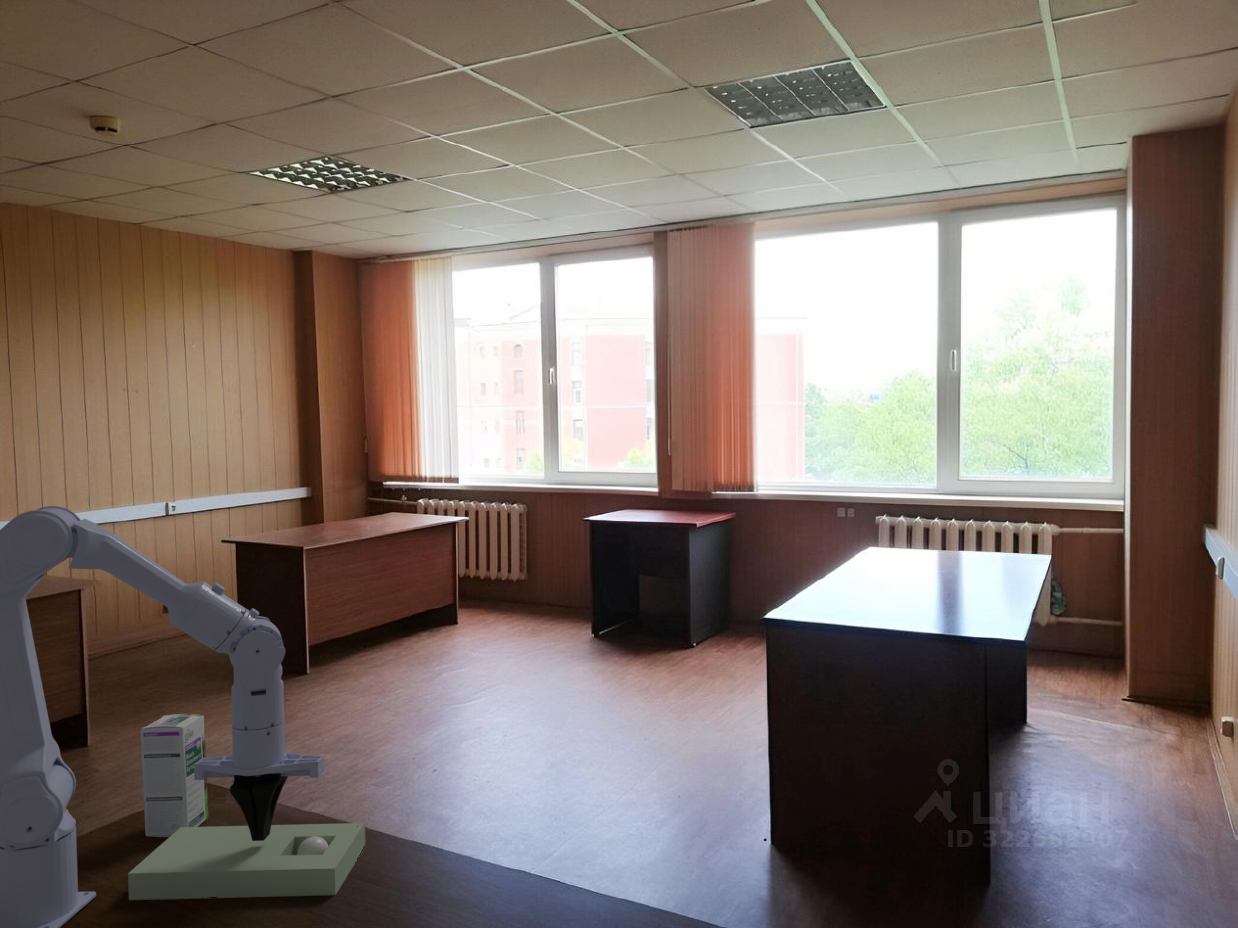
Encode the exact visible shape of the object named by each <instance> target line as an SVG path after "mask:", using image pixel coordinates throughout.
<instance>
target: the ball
mask: <svg viewBox="0 0 1238 928" xmlns="http://www.w3.org/2000/svg"><path fill="white" fill-rule="evenodd" d="M327 848H328V844H327V842H326V841H325V840H324V839H323V838H321V837H317V836H313V837H309V838H307V839H306V840H304V841H303V842H302V843H301V845H300V846H299V848H298V851H297V855H323V853H324V852H325V851H326V849H327Z"/></svg>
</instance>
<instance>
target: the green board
mask: <svg viewBox="0 0 1238 928" xmlns="http://www.w3.org/2000/svg"><path fill="white" fill-rule="evenodd" d="M357 826H358V827H357ZM313 836H317V837H321V838H323V839H324V840H325V841H326V842H327V844H328V848H327V849H326V851H325V852H324V853H323V855H297V851H298V848H299V846H300V845H301V843H302V842H303V841H304V840H306V839H307V838H309V837H313ZM364 845H365V846H366V823H365V822H351V823H349V822H348V823H347V822H346V823H345V822H344V823H308V824H307V823H306V824H271V830H270V834H269V835H268V837H267V838H266V839H265V840H263V841H252V838H251V834H250V830H249V827H248V825H230V826H229V825H222V826H198V827H180V828H179V829H178V830H177V831H176V832H175V833H174V834H173V835H171V836H170V837H167V839H165V841H164V842H162V843H161V844H160V845H159V846H157V848H155V849H154V850H153V851H152V852H151V853H149V854H148V855H147V856H146V857H145V858H143V860H142V861H140V863H138V864H137V865H136V866H135V867H134V868H132V870H130V871H129V872H128V874H127V878H128V879H127V881H128V882H127V884H128V900H129V901H143V900H144V901H145V900H146V901H147V900H148V901H149V900H153V901H154V900H181V899H182V900H187V899H212V898H211V897H217V898H216V899H227V898H228V899H230V898H234V899H235V898H268V897H269V898H270V897H275V898H276V897H305V896H307V897H308V896H309V897H310V896H314V897H315V896H336V895H337V893H338V891H339V890H340V889H341V887H342V885H343V884H344V883H345V881H346V879H347V877H348V875H350V872H351V871H352V869H353V868H354V866H355V864H356V863H357V861H358V860H357V858H358V857H359V858H360V856H361V855H360V853H361V851H362V849H363V847H364ZM362 852H363V851H362ZM361 854H362V853H361ZM359 855H360V856H359ZM359 858H358V859H359ZM355 862H356V863H355ZM202 897H203V898H202ZM209 897H210V898H209Z"/></svg>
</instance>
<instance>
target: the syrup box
mask: <svg viewBox="0 0 1238 928" xmlns="http://www.w3.org/2000/svg"><path fill="white" fill-rule="evenodd" d="M205 733H206V732H205V716H204V714H199V713H177V714H176V713H175V714H168V715H167V714H165V715H163V716H161V717H160V718H159V719H158V720H157V719H156V720H155V721H153V722H152V723H149V724H148V725H147V726H144V727H142V728H141V729H140V749H141V750H140V751H141V768H142V769H141V770H142V771H141V772H142V774H141V775H142V790H143V791H142V792H143V793H142V794H143V813H144V815H143V816H144V833H145V834H144V835H145V837H154V838H169V837H170V836H171V835H173V834H174V833H175V832H176V831H177V830H178V829H179V828H180V827H200V826H201V824H202V823H204V822H205V821H207V819H208V818H209V803H208V802H209V799H208V780H207V779H208V778H205V779H204V780H195V779H194V764H195V763H196V762H198V761H199V760H200V759H202V758H207V755H206V740H205V739H206V738H205Z"/></svg>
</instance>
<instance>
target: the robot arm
mask: <svg viewBox="0 0 1238 928" xmlns="http://www.w3.org/2000/svg"><path fill="white" fill-rule="evenodd" d="M69 558H70V559H71V561H70V563H69V566H68V569H72V570H75V569H76V570H101V571H103V572H106V573H108V574H110V575H111V576H113V577H115V578H116V579H118V580H120V581H121V582H123V583H125V584H127V585H128V586H130V587H132V588H134V589H135V590H137V591H139V592H141V593H142V594H144V595H146V596H147V597H149V598H151V599H153V600H155V601H157V603H159V604H161V605H163V606H165V607H166V608H167V611H168V618H169V623H170V624H171V625H172V626H174V627H175V628H177V629H179V630H180V631H182V632H184V633H185V634H187V635H189V636H190V637H192V638H193V639H194V640H197V641H198V642H200V643H201V644H203V645H204V646H206V647H208V648H209V649H211V650H213V651H214V652H216V653H219V654H227V655H228V657H229V660H230V663H231V665H232V667H233V684H232V686H231V689H230V691H231V693H230V694H231V732H232V734H231V735H232V736H231V737H232V755H226V756H218V757H206V758H202V759H200V760H199V761H198V762H196V763H195V764H194V779H195V780H204V779H205V778H207V779H212V778H214V779H216V778H218V779H219V778H221V779H222V778H233V782H232V784H231V785H230V787H229V791H230V795H231V796H232V797H233V799H234V800H235V801H236V803H237V804H238V806H239V808H240V809H241V811H242V815H244V818H245V820H246V821H245V822H246V823H247V826H248V827H249V830H250V834H251V838H252V841H263V840H265V839H266V838H267V837H268V835H269V834H270V830H271V825H272V823H273V818H274V815H275V811H276V810H275V809H276V807H277V804H278V800H279V798H280V796H281V793H282V791H283V788H284V786H285V784H286V781H287V779H288V777H309V778H310V779H314V778H315V779H317V778H319V777H320V776H321V775H322V774H323V773H324V769H325V766H324V765H325V764H324V755H306V754H299V753H291V752H286V744H285V743H286V741H285V740H286V739H285V697H284V696H285V691H284V690H285V689H284V685H285V684H284V681H283V680H282V675H283V666H282V662H283V660H284V658H285V656H286V647H285V646H284V641H283V638H282V635H281V632H280V630H279V628H278V627H277V626H276V625H275V623H272V622H271V621H272V620H270V619H269V617H266V616H259V615H260V612H259V611H258V610H257V609H255V608H253V607H252V608H250V610H249V609H248V608H246V607H244V606H243V605H241V604H240V603H238V602H237V601H235V600H233V599H232V598H230V597H229V596H227V595H226V594H224V592H225V591H226V588H225V587H224V586H222V585H220V584H219V583H218V582H215V583H214V584H213V585H210V584H209V583H208V582H206V581H196V582H191V583H188V582H187V583H186V582H184V581H183V580H181V579H180V578H178V577H177V576H175V575H174V574H173V573H171V572H170V571H168V570H167V569H166V568H164V567H163V566H161V565H160V564H159V563H157V562H156V561H154V560H152V559H151V558H149V557H148V556H147V555H145V554H144V553H142V552H141V551H140V550H138V549H136V548H135V546H132V545H131V544H129V543H128V542H127V541H125V540H124V539H122V538H121V537H119V536H118V535H116V534H114V533H113V532H112V531H110V530H108V529H106V528H104V527H103V526H101V525H99V524H97V523H95V522H94V521H91V520H89V519H86V518H83V519H81V518H80V517H79V515H77V514H76V513H75V512H73V511H72V510H70V509H68V508H66V507H62V506H58V505H49V506H44V507H39V508H36V509H34V510H28V511H25V512H22V513H20V514H18V515H16V516H14V517H13V518H12V519H11V520H10V521H8V522H7V523H6V524H5V525H4V526H2V528H1V529H0V928H61V927H62V926H63V925H64V924H66V923H67V922H68V921H69V920H70V919H71V918H73V917H74V916H75V915H76V914H78V912H80V910H82V909H83V908H84V907H86V905H88V904H89V903H90V902H91V901H93V899H94V898H95V897H96V896H97V892H96V891H79V884H78V883H79V882H78V854H77V853H78V851H77V849H78V848H77V846H78V845H77V820H76V819H75V818H74V817H73V816H72V815H71V814H70V812H69V810H68V808H67V806H68V804H69V803H70V802H71V800H72V798H73V796H74V794H75V792H76V786H77V780H76V776H75V773H74V772H73V770H72V769H71V768H70V767H69V765H67V764H66V763H65V761H64V760H63V758H62V755H61V750H60V747H59V745H58V743H57V741H56V740H55V739H54V736H53V734H52V729H51V723H50V719H49V713H48V708H47V704H46V703H47V702H46V699H45V693H44V689H43V682H42V677H41V672H40V666H39V662H38V657H37V652H36V651H37V650H36V647H35V641H34V635H33V631H32V627H31V620H30V616H29V615H30V614H29V610H28V605H27V604H28V603H27V596H28V595H29V594H30V593H31V591H33V589H34V588H35V587H36V586H37V585H38V584H39V582H41V580H42V579H43V578H44V577H45V576H46V573H48V572H49V571H51V570H52V569H53V568H55V567H56V566H58V565H60V564H61V563H64V562H65V561H66V560H68V559H69Z"/></svg>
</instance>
